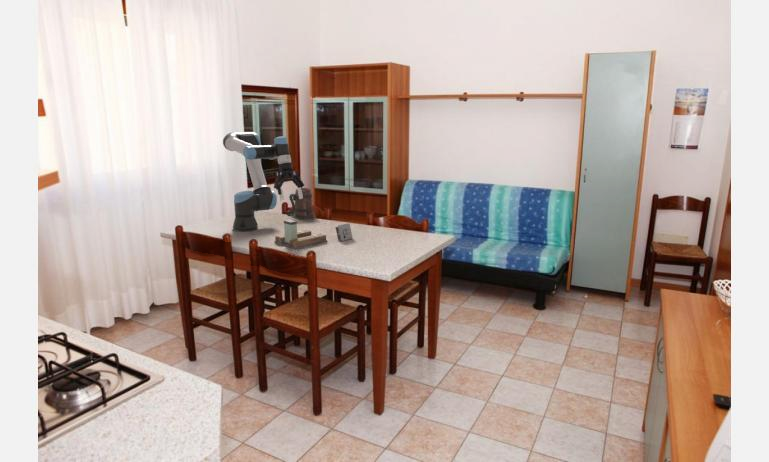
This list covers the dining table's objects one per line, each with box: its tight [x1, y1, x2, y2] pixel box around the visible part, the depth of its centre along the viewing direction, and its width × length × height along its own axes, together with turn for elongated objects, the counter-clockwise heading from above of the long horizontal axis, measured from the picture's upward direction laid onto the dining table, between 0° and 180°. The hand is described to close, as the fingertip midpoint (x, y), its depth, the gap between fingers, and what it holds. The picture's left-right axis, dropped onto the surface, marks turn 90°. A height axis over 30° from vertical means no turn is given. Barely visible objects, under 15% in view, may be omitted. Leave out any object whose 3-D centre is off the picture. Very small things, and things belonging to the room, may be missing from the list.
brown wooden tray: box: [274, 229, 328, 250], centre depth 280 cm, size 20×22×4 cm
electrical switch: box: [335, 222, 353, 242], centre depth 288 cm, size 9×5×9 cm, turn 141°
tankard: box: [286, 187, 316, 220], centre depth 343 cm, size 24×17×20 cm
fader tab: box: [283, 219, 298, 243], centre depth 274 cm, size 6×4×12 cm
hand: (291, 199), depth 285 cm, fingers open, 13 cm apart
